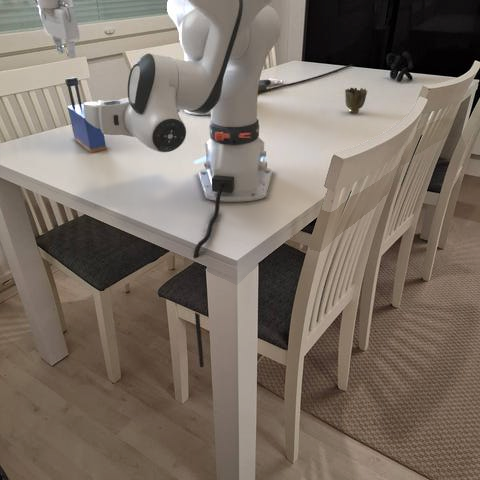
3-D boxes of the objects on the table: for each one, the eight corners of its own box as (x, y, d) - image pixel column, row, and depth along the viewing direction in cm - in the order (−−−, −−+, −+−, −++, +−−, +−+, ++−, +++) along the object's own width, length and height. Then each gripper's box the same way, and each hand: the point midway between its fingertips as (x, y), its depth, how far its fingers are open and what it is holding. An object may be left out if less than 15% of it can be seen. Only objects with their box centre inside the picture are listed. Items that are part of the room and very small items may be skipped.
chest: (74, 139, 140) (68, 109, 135) (89, 136, 143) (83, 107, 138) (91, 152, 130) (84, 121, 125) (106, 149, 132) (100, 118, 127)
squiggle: (400, 92, 202) (376, 71, 205) (417, 76, 202) (392, 56, 205) (405, 81, 191) (380, 59, 194) (423, 64, 191) (397, 42, 194)
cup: (340, 114, 157) (342, 91, 153) (346, 109, 163) (348, 86, 159) (361, 116, 154) (364, 93, 150) (366, 111, 160) (369, 88, 156)
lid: (67, 109, 136) (60, 78, 131) (82, 106, 138) (76, 75, 133) (84, 120, 125) (77, 87, 120) (100, 117, 127) (94, 84, 122)
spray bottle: (231, 92, 187) (266, 82, 203) (251, 96, 181) (286, 85, 197) (231, 84, 185) (266, 75, 201) (251, 88, 179) (286, 78, 195)
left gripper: (79, 1, 114) (90, 58, 121) (55, -3, 128) (66, 49, 136) (54, 2, 111) (66, 61, 118) (32, -1, 125) (45, 51, 132)
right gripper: (183, 97, 101) (159, 85, 111) (92, 105, 91) (75, 91, 101) (183, 125, 104) (160, 111, 114) (96, 135, 95) (79, 119, 105)
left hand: (66, 55), depth 127 cm, fingers open, 8 cm apart
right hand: (119, 102), depth 108 cm, fingers open, 8 cm apart
